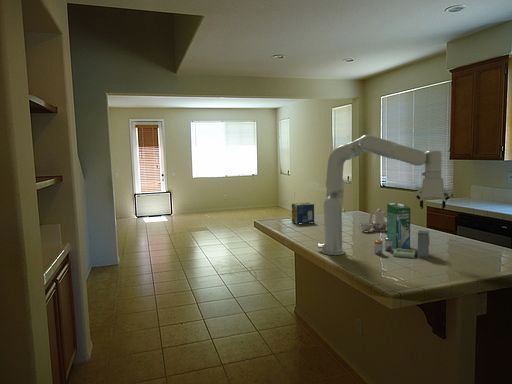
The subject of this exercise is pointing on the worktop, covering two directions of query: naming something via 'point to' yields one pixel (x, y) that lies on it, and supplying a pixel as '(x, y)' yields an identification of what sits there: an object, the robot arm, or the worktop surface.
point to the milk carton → (398, 224)
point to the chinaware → (375, 222)
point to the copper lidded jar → (378, 247)
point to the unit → (423, 244)
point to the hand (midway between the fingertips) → (432, 208)
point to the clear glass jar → (388, 243)
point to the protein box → (302, 213)
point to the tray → (404, 253)
